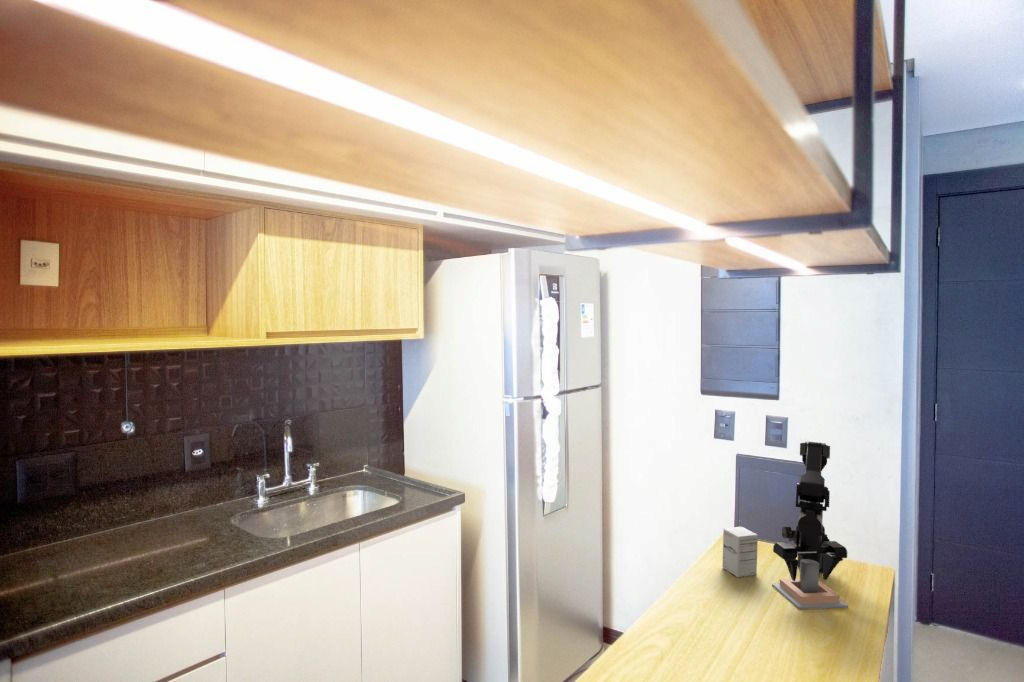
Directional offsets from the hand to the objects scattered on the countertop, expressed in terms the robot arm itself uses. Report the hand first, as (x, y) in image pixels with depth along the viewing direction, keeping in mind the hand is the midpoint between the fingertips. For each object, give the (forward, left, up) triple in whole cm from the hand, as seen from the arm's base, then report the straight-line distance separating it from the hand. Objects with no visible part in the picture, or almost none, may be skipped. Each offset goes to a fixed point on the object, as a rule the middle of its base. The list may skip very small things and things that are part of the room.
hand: (809, 580), depth 168 cm
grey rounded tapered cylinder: (0, 0, -4) cm, 4 cm away
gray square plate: (0, 0, -5) cm, 5 cm away
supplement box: (+12, -17, -5) cm, 21 cm away
